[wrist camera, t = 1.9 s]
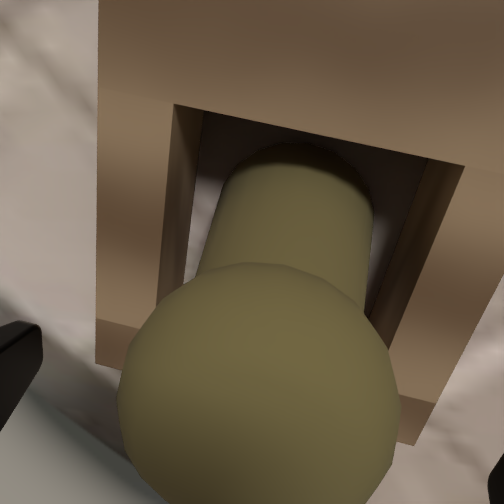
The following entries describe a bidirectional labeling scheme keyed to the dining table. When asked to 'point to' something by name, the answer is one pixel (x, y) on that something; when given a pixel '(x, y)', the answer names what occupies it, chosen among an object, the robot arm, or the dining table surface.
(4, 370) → the robot arm
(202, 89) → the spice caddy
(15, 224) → the dining table surface
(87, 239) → the dining table surface
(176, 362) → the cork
